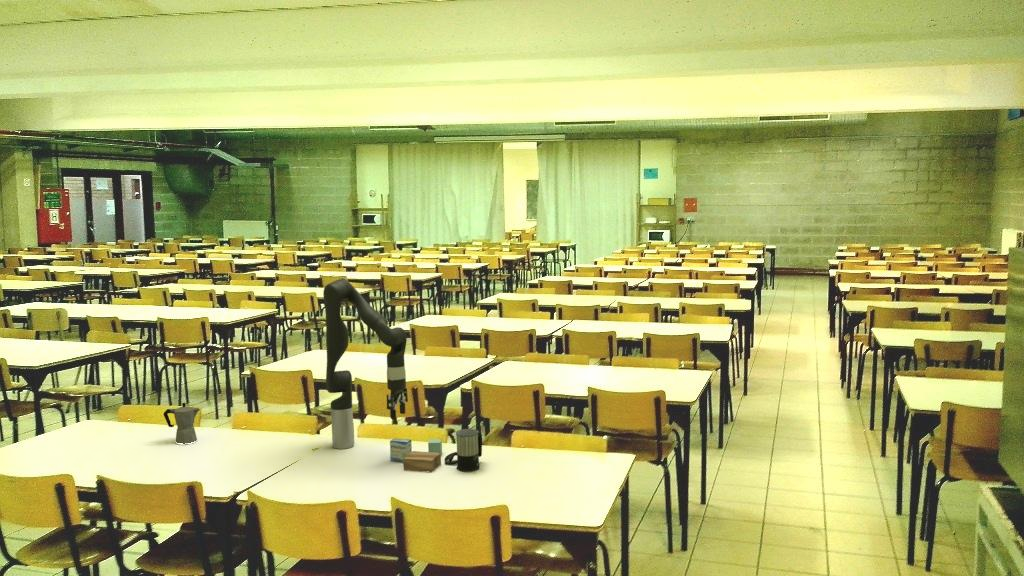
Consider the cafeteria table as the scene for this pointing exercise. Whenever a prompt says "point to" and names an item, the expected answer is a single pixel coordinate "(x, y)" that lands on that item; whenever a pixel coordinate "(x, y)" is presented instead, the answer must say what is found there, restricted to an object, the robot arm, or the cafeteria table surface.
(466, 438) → the milk frother
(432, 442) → the teal block
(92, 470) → the cafeteria table surface
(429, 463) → the walnut block
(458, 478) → the cafeteria table surface
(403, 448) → the medicine box
